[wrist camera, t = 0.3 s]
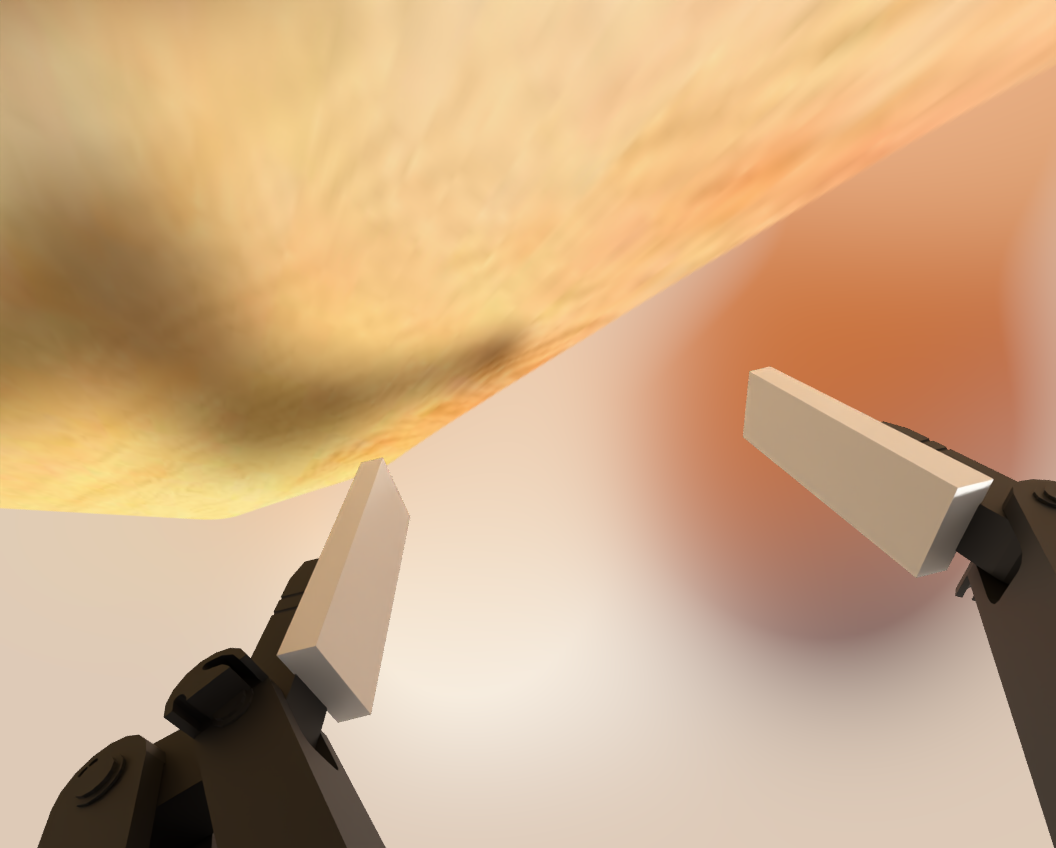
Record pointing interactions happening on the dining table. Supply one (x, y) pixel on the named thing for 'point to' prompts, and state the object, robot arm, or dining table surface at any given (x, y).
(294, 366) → the dining table surface
